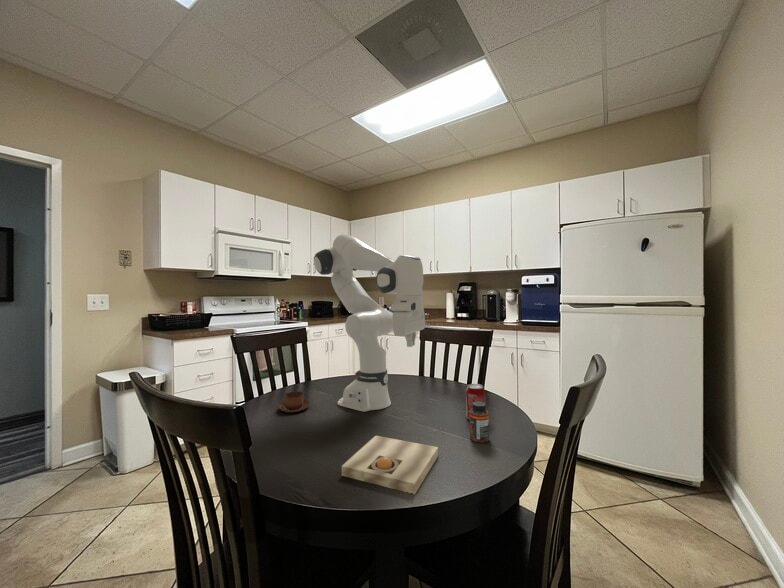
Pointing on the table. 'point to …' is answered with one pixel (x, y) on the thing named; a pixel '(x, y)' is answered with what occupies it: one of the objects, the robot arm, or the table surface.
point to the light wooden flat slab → (406, 463)
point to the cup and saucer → (294, 402)
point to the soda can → (474, 396)
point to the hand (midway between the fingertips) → (410, 346)
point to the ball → (384, 463)
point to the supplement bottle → (479, 422)
